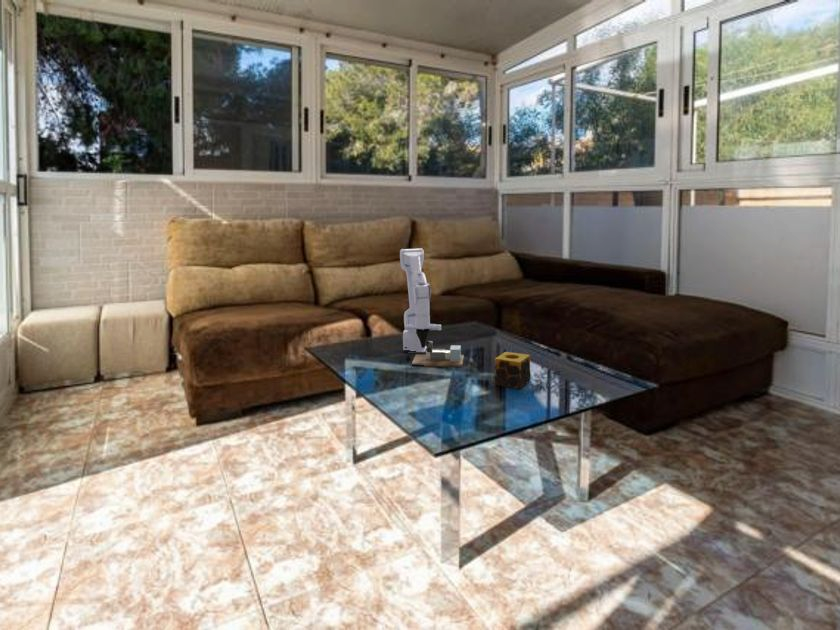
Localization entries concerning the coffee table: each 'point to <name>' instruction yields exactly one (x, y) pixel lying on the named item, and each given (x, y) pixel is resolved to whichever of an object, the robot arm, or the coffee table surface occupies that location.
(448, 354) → the bolt
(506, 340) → the coffee table surface
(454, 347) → the block
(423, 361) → the guide board
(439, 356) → the channel
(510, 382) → the candle
